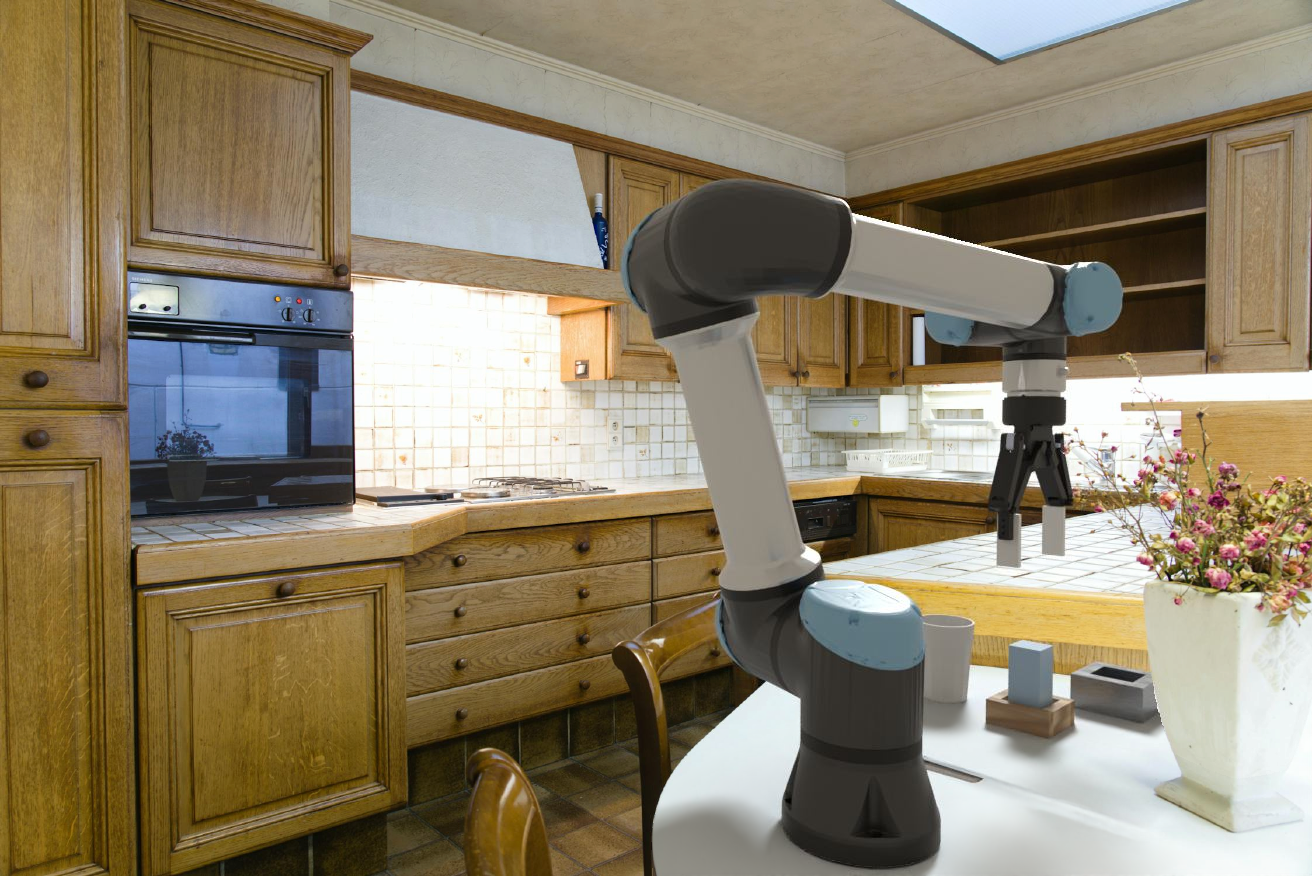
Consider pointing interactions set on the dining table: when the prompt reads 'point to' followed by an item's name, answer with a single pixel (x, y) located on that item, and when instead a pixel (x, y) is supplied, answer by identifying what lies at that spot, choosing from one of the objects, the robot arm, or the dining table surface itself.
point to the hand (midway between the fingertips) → (1031, 560)
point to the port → (1114, 691)
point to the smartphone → (951, 772)
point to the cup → (947, 657)
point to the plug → (1030, 674)
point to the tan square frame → (1030, 715)
